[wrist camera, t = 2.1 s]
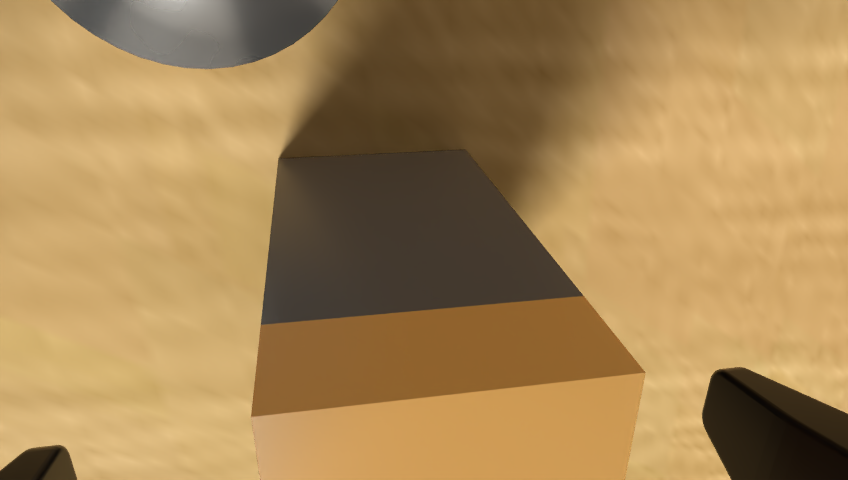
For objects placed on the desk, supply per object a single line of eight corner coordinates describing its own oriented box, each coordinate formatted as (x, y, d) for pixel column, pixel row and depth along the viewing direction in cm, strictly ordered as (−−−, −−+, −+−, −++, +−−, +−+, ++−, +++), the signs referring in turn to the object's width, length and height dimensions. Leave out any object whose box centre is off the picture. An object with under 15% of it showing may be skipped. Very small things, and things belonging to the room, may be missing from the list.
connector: (460, 306, 15) (597, 619, 8) (294, 321, 15) (288, 675, 8) (465, 149, 14) (645, 373, 6) (278, 158, 13) (250, 417, 6)
